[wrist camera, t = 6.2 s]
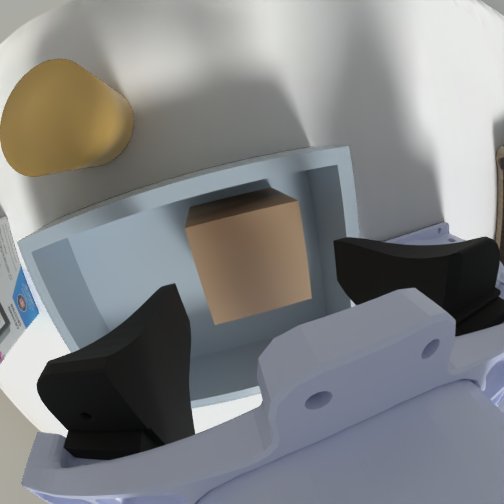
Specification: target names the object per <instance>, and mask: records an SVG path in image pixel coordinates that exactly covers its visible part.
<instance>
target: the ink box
mask: <svg viewBox="0 0 504 504" xmlns="http://www.w3.org/2000/svg"><path fill="white" fill-rule="evenodd" d="M38 314H39V312H38V309H37V307H36V305H35V302H34V300H33V298H32V295H31V293H30V290H29V287H28V285H27V282H26V280H25V277H24V274H23V271H22V268H21V265H20V262H19V259H18V256H17V252H16V249H15V246H14V242H13V239H12V235H11V231H10V227H9V223H8V219H7V217H6V216H4V217H1V218H0V364H1V362H2V361H3V360H4V358H5V357H6V355H7V354H8V353H9V351H10V350H11V348H12V347H13V346H14V344H15V343H16V342H17V340H18V339H19V338H20V336H21V335H22V334H23V333H24V331H25V330H26V329H27V327H28V326H29V325H30V324H31V323H32V321H33V320H34V319H35V318H36V317H37V315H38Z"/></svg>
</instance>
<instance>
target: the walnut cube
mask: <svg viewBox="0 0 504 504" xmlns="http://www.w3.org/2000/svg"><path fill="white" fill-rule="evenodd" d="M185 231H186V235H187V238H188V242H189V245H190V248H191V252H192V255H193V259H194V262H195V265H196V268H197V272H198V275H199V278H200V281H201V285H202V288H203V291H204V294H205V297H206V300H207V303H208V306H209V309H210V312H211V315H212V318H213V321H214V324H215V325H217V324H221V323H225V322H229V321H233V320H237V319H240V318H244V317H248V316H252V315H256V314H259V313H263V312H267V311H270V310H274V309H277V308H281V307H284V306H288V305H291V304H295V303H298V302H301V301H305V300H308V299H311V298H312V295H311V286H310V278H309V270H308V262H307V254H306V247H305V240H304V233H303V226H302V219H301V213H300V207H299V201H298V200H296V199H294V198H292V197H290V196H288V195H286V194H284V193H282V192H280V191H278V190H276V189H274V188H272V187H271V188H266V189H262V190H257V191H253V192H248V193H244V194H240V195H235V196H231V197H227V198H223V199H219V200H215V201H211V202H207V203H203V204H199V205H195V206H191V207H190V208H189V212H188V217H187V221H186V225H185Z"/></svg>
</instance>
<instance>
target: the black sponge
mask: <svg viewBox="0 0 504 504" xmlns="http://www.w3.org/2000/svg"><path fill="white" fill-rule="evenodd" d="M496 162H497V169H498V213H497V230H496V240H495V241H496V243H497V244H498V247H499V251H500V261H501V263H502V264H503V266H504V145H503V146H501V147H500V148H499V149H498V150H497V155H496Z"/></svg>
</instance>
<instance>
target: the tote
mask: <svg viewBox="0 0 504 504" xmlns="http://www.w3.org/2000/svg"><path fill="white" fill-rule="evenodd" d="M271 187H272V188H274V189H276V190H278V191H280V192H282V193H284V194H286V195H288V196H290V197H292V198H294V199H296V200H298V201H299V207H300V213H301V219H302V226H303V233H304V240H305V247H306V254H307V262H308V270H309V278H310V286H311V295H312V298H311V299H308V300H305V301H301V302H298V303H295V304H291V305H288V306H284V307H281V308H277V309H274V310H270V311H267V312H263V313H259V314H256V315H252V316H248V317H244V318H240V319H237V320H233V321H229V322H225V323H221V324H217V325H215V324H214V321H213V318H212V315H211V312H210V309H209V306H208V303H207V300H206V297H205V294H204V291H203V288H202V285H201V281H200V278H199V275H198V272H197V268H196V265H195V262H194V259H193V255H192V252H191V248H190V245H189V242H188V238H187V235H186V231H185V225H186V221H187V217H188V212H189V208H190V207H191V206H195V205H199V204H203V203H207V202H211V201H215V200H219V199H223V198H227V197H231V196H235V195H240V194H244V193H248V192H253V191H257V190H262V189H266V188H271ZM345 237H353V238H360V231H359V219H358V209H357V199H356V191H355V183H354V175H353V168H352V161H351V155H350V149H349V146H324V147H308V148H302V149H296V150H290V151H285V152H279V153H274V154H269V155H264V156H259V157H255V158H250V159H245V160H241V161H237V162H232V163H228V164H224V165H220V166H216V167H212V168H208V169H204V170H200V171H196V172H193V173H189V174H186V175H182V176H178V177H175V178H172V179H168V180H165V181H161V182H158V183H155V184H152V185H149V186H145V187H142V188H139V189H136V190H133V191H130V192H127V193H124V194H121V195H119V196H116V197H113V198H110V199H107V200H105V201H102V202H99V203H96V204H94V205H91V206H89V207H86V208H83V209H81V210H78V211H76V212H73V213H71V214H68V215H66V216H64V217H61V218H59V219H57V220H55V221H53V222H51V223H49V224H47V225H45V226H44V227H42V228H40V229H38V230H37V231H35V232H33V233H31V234H30V235H28V236H26V237H25V238H23V239H21V240H20V241H18V242H17V243H18V246H19V249H20V252H21V254H22V257H23V259H24V262H25V264H26V267H27V269H28V272H29V274H30V276H31V279H32V281H33V283H34V285H35V287H36V290H37V292H38V294H39V296H40V298H41V300H42V302H43V304H44V306H45V308H46V310H47V312H48V314H49V315H50V317H51V319H52V321H53V323H54V325H55V326H56V328H57V330H58V332H59V333H60V335H61V337H62V338H63V340H64V342H65V343H66V345H67V347H68V348H69V350H70V351H71V353H72V352H75V351H77V350H79V349H81V348H83V347H85V346H87V345H89V344H91V343H93V342H95V341H96V340H98V339H100V338H101V337H103V336H104V335H106V334H108V333H109V332H111V331H112V330H114V329H115V328H116V327H118V326H119V325H120V324H121V323H123V322H124V321H125V320H126V319H128V318H129V317H130V316H131V315H132V314H133V313H134V312H135V311H136V310H137V309H138V308H139V307H141V306H142V305H143V304H144V303H145V302H146V301H147V300H148V299H149V298H150V297H151V296H152V295H153V294H154V293H155V292H156V291H157V290H158V289H159V288H160V287H162V286H165V285H169V284H173V283H175V284H176V286H177V289H178V292H179V295H180V297H181V300H182V302H183V305H184V308H185V310H186V313H187V315H188V318H189V320H190V328H191V355H190V372H189V390H190V401H191V409H192V408H197V407H203V406H208V405H213V404H218V403H222V402H227V401H231V400H236V399H240V398H244V397H248V396H252V395H256V394H260V393H261V391H260V387H259V383H258V379H257V367H258V358H259V356H260V355H261V354H262V353H263V351H264V350H265V349H266V348H267V346H268V345H269V344H270V343H271V341H272V340H273V339H274V338H276V337H278V336H280V335H282V334H283V333H285V332H287V331H289V330H291V329H293V328H295V327H296V326H298V325H301V324H304V323H307V322H310V321H313V320H317V319H320V318H323V317H326V316H328V315H331V314H334V313H337V312H340V311H343V310H346V309H349V308H351V307H354V306H356V305H355V304H354V302H353V301H352V300H351V299H350V298H349V297H348V296H347V295H346V293H345V292H344V290H343V289H342V287H341V286H340V284H339V283H338V281H337V275H336V263H335V253H334V244H333V241H334V240H337V239H341V238H345Z"/></svg>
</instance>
